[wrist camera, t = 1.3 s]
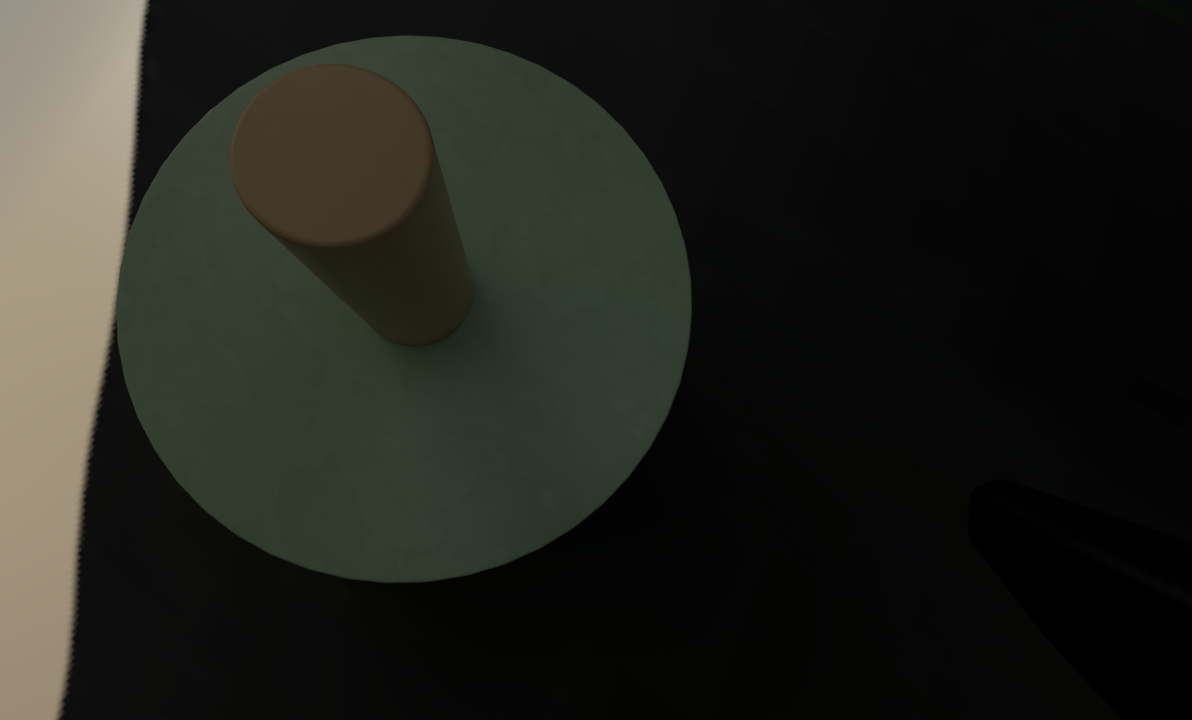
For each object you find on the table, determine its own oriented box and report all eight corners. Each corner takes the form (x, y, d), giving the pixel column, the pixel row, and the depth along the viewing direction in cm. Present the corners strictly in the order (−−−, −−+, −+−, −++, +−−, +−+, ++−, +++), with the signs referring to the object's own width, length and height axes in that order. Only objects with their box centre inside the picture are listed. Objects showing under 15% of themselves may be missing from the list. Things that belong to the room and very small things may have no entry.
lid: (671, 586, 16) (812, 696, 8) (101, 563, 15) (-373, 665, 7) (689, 91, 19) (813, -199, 11) (190, 37, 17) (-98, -336, 9)
